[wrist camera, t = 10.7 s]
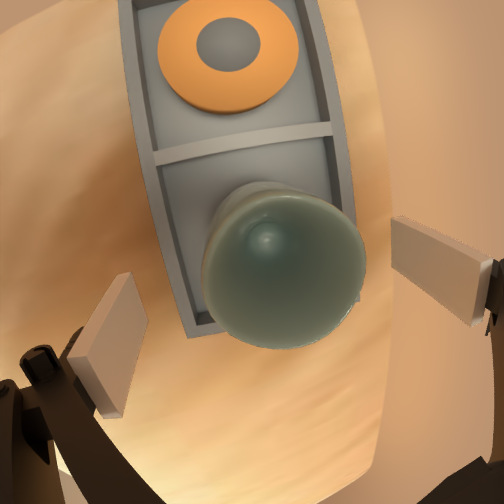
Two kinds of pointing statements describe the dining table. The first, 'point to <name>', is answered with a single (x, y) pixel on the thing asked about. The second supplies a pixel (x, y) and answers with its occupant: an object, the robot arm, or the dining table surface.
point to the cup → (280, 266)
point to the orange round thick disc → (227, 53)
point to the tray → (228, 143)
